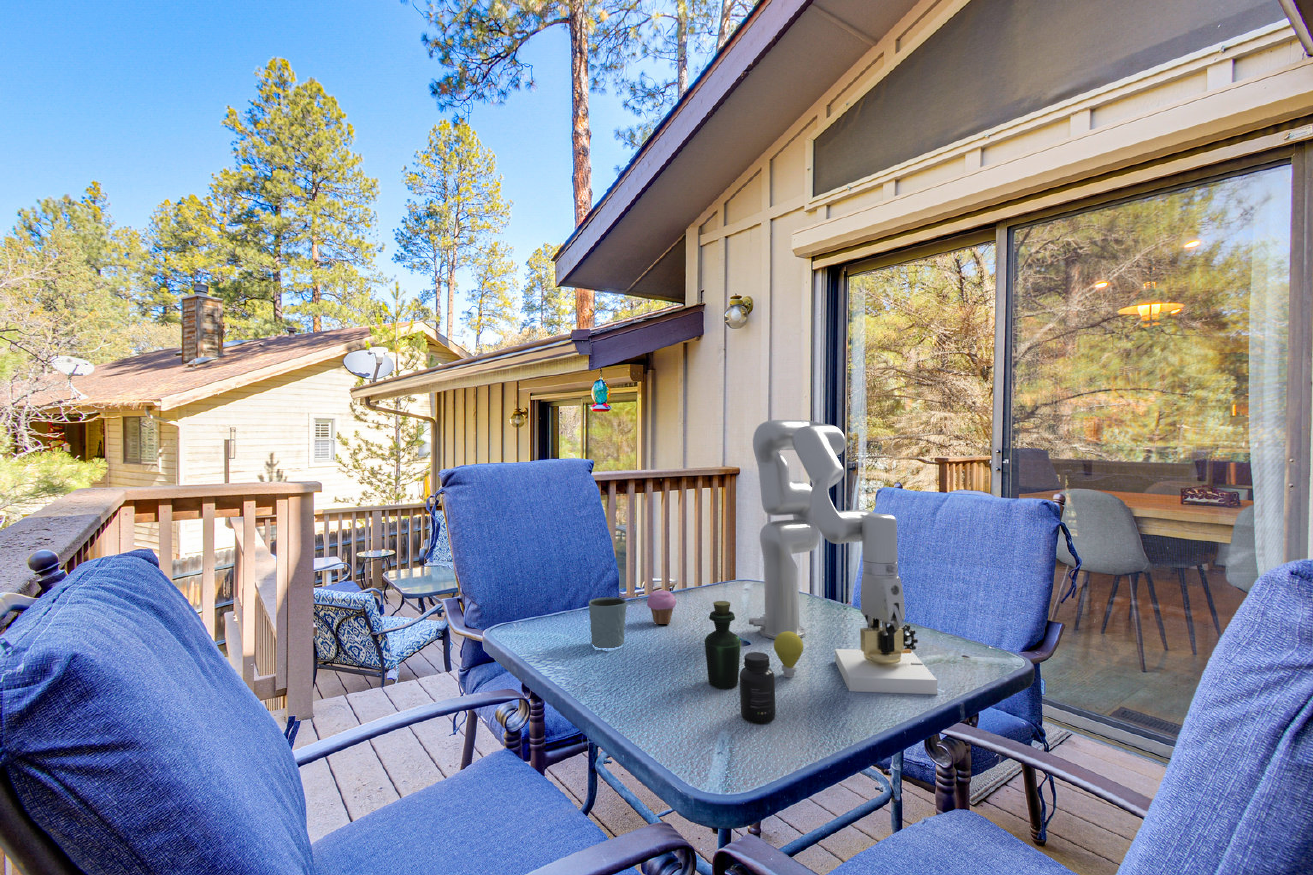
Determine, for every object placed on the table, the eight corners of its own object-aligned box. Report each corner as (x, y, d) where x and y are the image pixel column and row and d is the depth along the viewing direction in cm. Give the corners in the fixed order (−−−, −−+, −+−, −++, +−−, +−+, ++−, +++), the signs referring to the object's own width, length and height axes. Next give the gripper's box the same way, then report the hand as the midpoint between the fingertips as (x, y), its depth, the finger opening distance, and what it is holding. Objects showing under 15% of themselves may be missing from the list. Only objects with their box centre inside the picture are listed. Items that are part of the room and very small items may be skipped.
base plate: (849, 691, 129) (849, 676, 129) (835, 661, 147) (835, 648, 147) (937, 694, 127) (937, 678, 127) (912, 663, 145) (911, 649, 145)
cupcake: (676, 627, 176) (676, 593, 176) (647, 628, 176) (646, 594, 177) (676, 619, 185) (675, 586, 185) (647, 619, 185) (647, 586, 185)
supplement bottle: (737, 710, 121) (735, 650, 121) (770, 708, 122) (769, 648, 122) (744, 726, 114) (743, 662, 114) (780, 724, 115) (778, 661, 115)
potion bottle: (697, 682, 136) (696, 602, 136) (723, 673, 140) (722, 596, 141) (722, 694, 129) (721, 610, 129) (749, 684, 134) (747, 603, 134)
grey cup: (582, 649, 159) (581, 604, 159) (600, 638, 168) (599, 595, 168) (617, 654, 155) (616, 607, 155) (633, 642, 164) (632, 598, 164)
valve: (876, 659, 148) (918, 654, 151) (875, 632, 149) (917, 628, 152) (861, 650, 155) (901, 645, 158) (860, 624, 155) (900, 620, 158)
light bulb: (787, 683, 134) (786, 638, 134) (768, 673, 140) (767, 630, 140) (810, 677, 137) (809, 633, 138) (790, 667, 143) (790, 625, 143)
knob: (871, 669, 133) (870, 635, 133) (855, 656, 141) (855, 624, 141) (919, 666, 134) (918, 633, 134) (901, 654, 142) (901, 622, 142)
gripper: (919, 574, 131) (921, 658, 131) (870, 560, 146) (872, 636, 146) (891, 577, 129) (893, 663, 128) (844, 563, 144) (845, 640, 144)
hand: (881, 648), depth 137 cm, fingers closed on knob, 3 cm apart
